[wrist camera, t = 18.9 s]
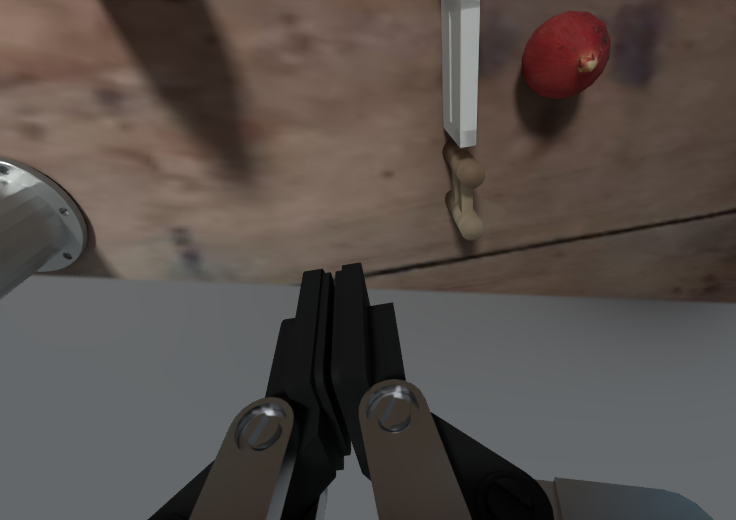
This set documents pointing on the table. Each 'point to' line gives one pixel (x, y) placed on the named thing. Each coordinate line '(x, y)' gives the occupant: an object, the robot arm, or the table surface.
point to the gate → (460, 68)
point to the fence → (463, 189)
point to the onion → (566, 55)
